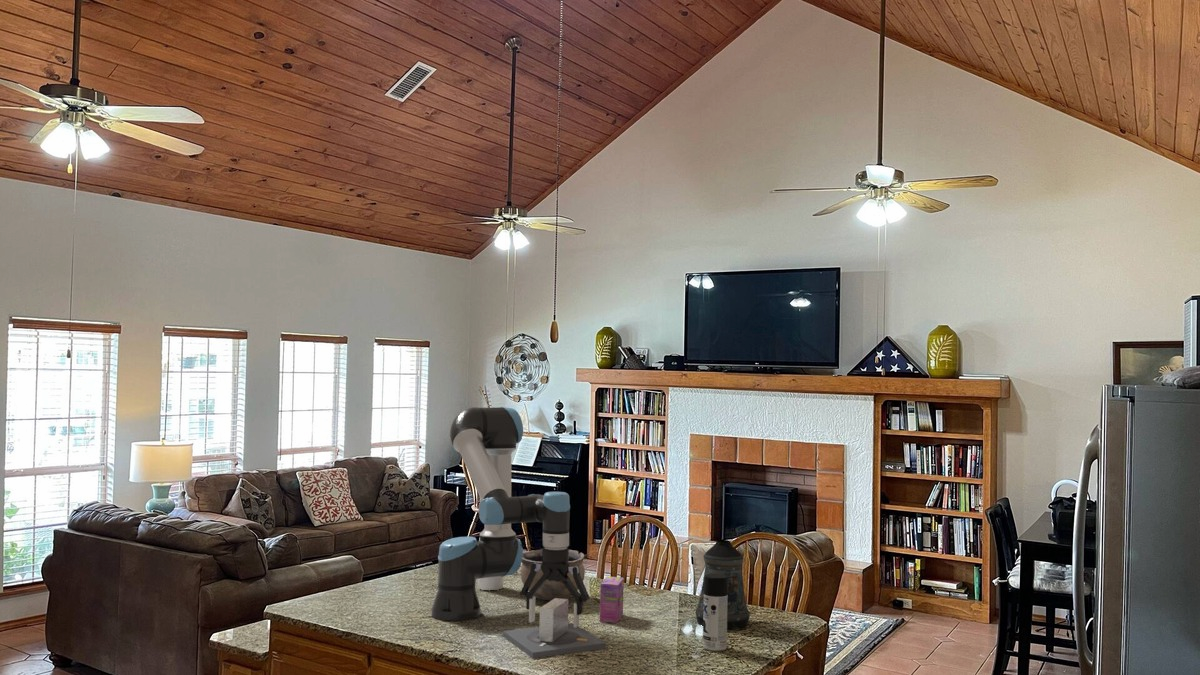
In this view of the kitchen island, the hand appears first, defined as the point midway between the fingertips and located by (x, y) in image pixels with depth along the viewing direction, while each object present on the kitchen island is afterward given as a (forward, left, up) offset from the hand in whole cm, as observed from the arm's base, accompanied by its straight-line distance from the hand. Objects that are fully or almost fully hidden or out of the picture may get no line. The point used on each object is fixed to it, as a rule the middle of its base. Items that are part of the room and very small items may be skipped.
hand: (553, 623), depth 250 cm
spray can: (+23, +39, -5) cm, 46 cm away
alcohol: (-68, +6, -5) cm, 68 cm away
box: (-16, +27, -5) cm, 32 cm away
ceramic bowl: (-46, +20, -5) cm, 50 cm away
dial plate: (0, 0, -5) cm, 5 cm away
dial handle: (0, 0, -3) cm, 3 cm away
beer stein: (+1, +56, -5) cm, 56 cm away
